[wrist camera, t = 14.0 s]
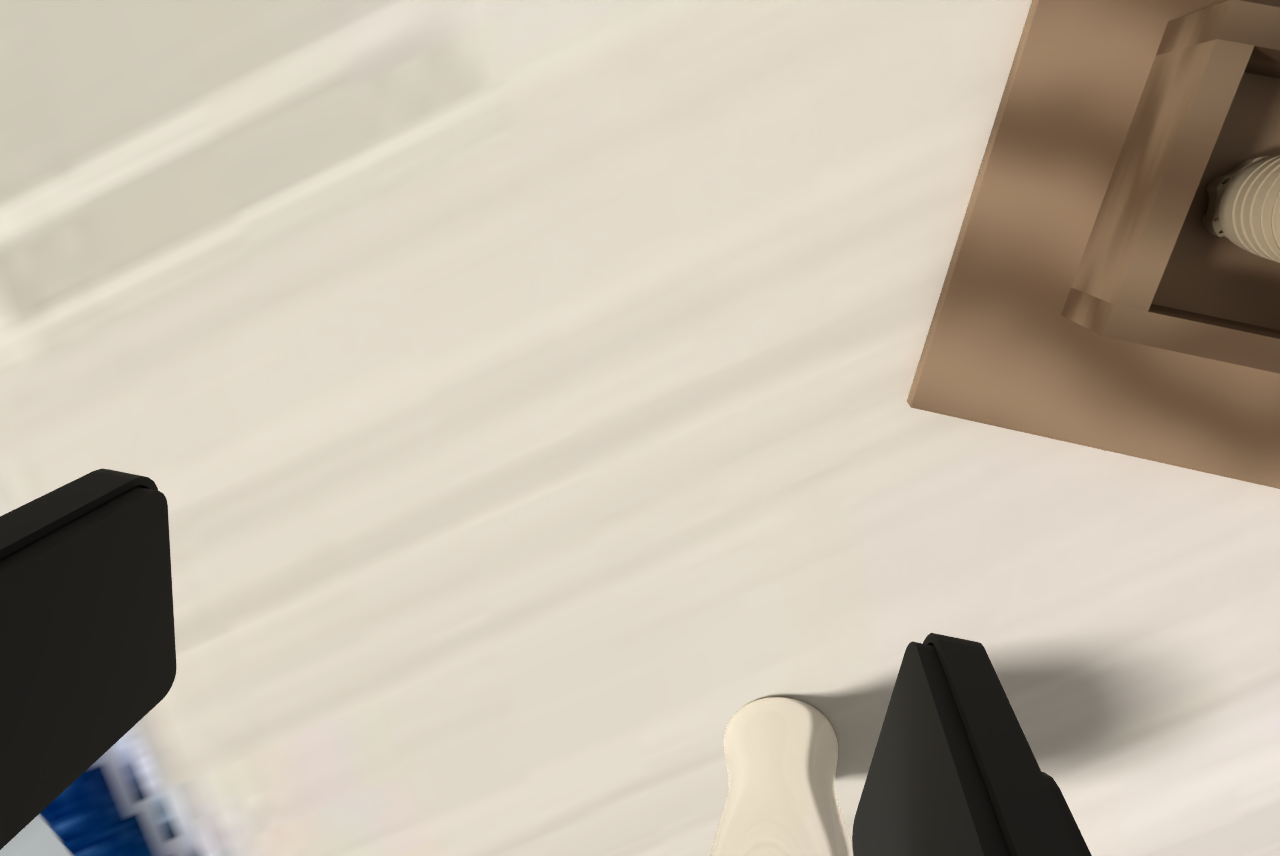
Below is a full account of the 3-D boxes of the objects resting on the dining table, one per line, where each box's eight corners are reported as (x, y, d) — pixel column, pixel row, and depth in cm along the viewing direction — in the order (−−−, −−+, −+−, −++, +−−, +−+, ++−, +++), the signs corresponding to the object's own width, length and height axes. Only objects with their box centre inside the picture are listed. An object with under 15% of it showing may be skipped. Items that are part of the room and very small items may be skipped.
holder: (1080, -154, 30) (1145, -219, 25) (1652, -58, 29) (1846, -106, 24) (907, 401, 38) (930, 439, 32) (1358, 500, 36) (1457, 557, 31)
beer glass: (725, 677, 44) (708, 925, 29) (858, 702, 43) (905, 967, 29) (707, 782, 46) (682, 1059, 32) (832, 807, 45) (864, 1101, 31)
